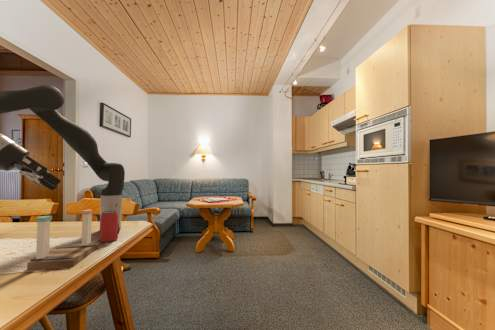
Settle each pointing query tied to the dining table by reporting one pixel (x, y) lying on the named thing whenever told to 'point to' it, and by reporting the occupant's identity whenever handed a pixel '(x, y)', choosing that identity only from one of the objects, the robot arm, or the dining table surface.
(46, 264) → the wooden slider base
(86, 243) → the white tall bar
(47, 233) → the teal slider
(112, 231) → the beer can
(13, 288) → the dining table surface
